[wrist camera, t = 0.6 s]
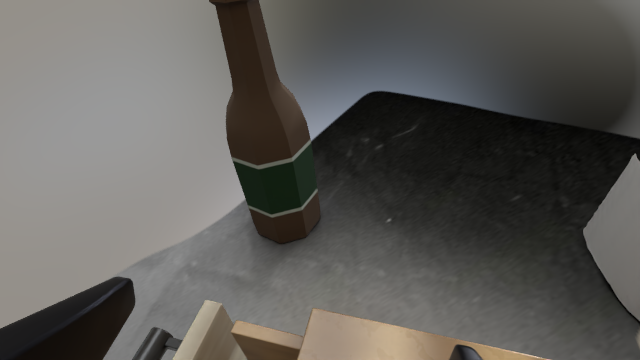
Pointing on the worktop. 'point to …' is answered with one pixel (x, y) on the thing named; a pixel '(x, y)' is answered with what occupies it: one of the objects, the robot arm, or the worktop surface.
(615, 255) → the toilet tissue
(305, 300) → the worktop surface
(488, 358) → the cabinet
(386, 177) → the worktop surface
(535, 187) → the worktop surface
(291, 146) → the beer bottle
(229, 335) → the drawer
